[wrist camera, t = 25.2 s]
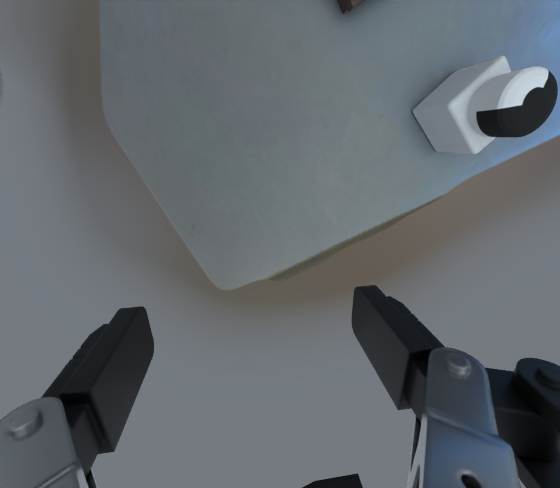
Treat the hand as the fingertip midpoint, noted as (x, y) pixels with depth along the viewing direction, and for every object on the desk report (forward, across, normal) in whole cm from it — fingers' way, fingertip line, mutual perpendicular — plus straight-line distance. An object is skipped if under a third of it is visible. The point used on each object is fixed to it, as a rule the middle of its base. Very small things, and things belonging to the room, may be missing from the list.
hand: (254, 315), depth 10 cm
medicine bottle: (+28, -27, -9) cm, 40 cm away
